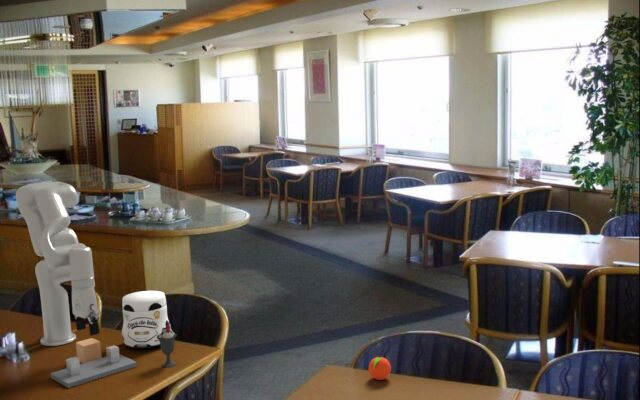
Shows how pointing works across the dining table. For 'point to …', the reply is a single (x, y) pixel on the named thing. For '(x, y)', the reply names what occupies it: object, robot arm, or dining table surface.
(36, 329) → the dining table surface
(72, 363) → the post near
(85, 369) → the slate board
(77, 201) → the robot arm
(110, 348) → the post far
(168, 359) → the sundae
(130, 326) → the milk container
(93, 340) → the peach wooden block
